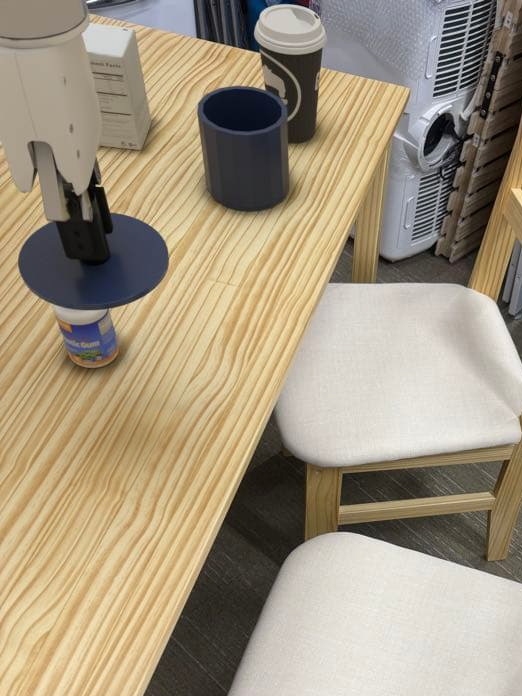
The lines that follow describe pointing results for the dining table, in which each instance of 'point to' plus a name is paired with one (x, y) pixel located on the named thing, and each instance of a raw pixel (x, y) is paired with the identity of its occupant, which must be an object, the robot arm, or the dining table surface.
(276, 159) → the tin
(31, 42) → the robot arm
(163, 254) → the lid
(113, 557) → the dining table surface
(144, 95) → the white packaging box
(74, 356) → the pill bottle
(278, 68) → the coffee cup
